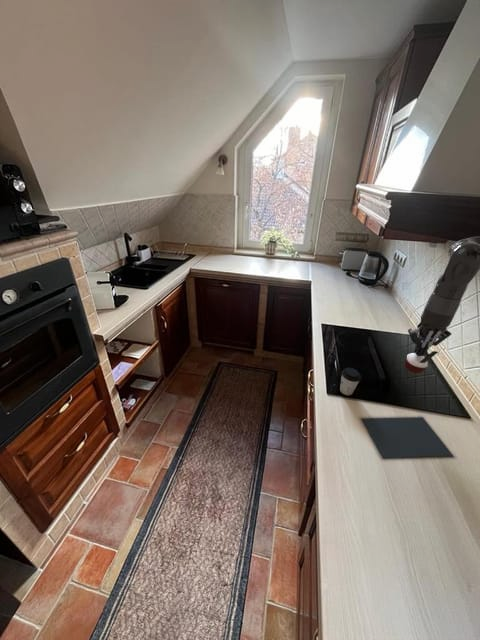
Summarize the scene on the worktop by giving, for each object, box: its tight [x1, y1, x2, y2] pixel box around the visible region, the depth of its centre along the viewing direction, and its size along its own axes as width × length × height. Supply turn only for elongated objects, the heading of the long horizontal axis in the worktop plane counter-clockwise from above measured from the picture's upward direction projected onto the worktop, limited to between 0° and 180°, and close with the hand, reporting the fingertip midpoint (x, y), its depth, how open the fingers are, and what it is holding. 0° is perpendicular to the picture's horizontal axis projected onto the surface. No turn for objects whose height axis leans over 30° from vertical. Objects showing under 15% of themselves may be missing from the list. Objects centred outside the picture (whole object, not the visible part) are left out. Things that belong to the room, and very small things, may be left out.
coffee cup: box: [339, 367, 362, 396], centre depth 97 cm, size 7×7×10 cm
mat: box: [361, 416, 454, 459], centre depth 82 cm, size 22×14×1 cm, turn 92°
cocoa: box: [404, 350, 439, 374], centre depth 85 cm, size 10×6×12 cm, turn 152°
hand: (419, 354), depth 84 cm, fingers closed on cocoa, 1 cm apart
